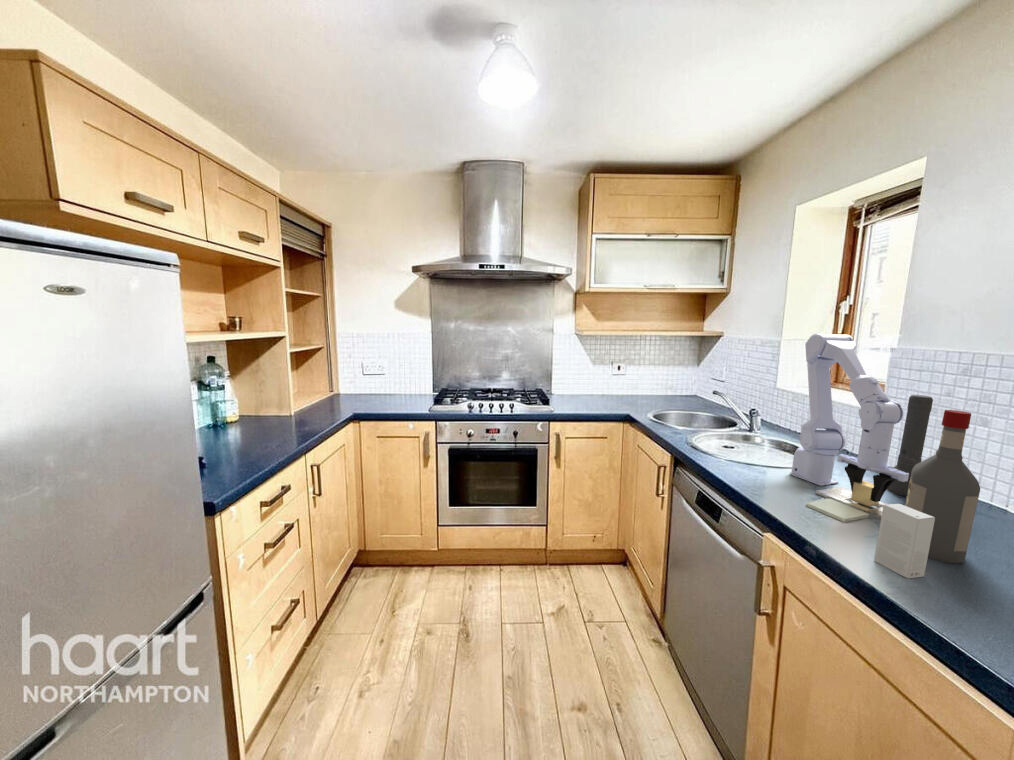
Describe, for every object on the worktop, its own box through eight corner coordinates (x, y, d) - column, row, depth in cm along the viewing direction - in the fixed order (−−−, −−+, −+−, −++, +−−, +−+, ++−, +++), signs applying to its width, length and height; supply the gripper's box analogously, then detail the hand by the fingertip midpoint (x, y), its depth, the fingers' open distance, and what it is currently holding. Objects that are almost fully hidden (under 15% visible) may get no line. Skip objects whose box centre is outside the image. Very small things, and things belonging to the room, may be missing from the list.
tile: (805, 505, 105) (806, 502, 105) (829, 501, 108) (829, 498, 108) (844, 522, 96) (844, 519, 96) (868, 517, 99) (868, 514, 99)
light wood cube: (851, 499, 107) (854, 482, 106) (860, 498, 108) (863, 480, 107) (868, 506, 103) (871, 488, 102) (878, 504, 104) (881, 486, 104)
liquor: (957, 549, 86) (987, 412, 81) (965, 568, 79) (998, 419, 74) (898, 533, 92) (923, 404, 87) (900, 550, 85) (927, 411, 80)
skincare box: (925, 577, 76) (937, 517, 74) (907, 579, 75) (919, 519, 73) (888, 558, 82) (899, 502, 80) (872, 560, 81) (882, 504, 79)
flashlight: (882, 485, 120) (892, 494, 114) (899, 392, 116) (910, 396, 109) (914, 490, 117) (925, 499, 111) (932, 395, 113) (945, 399, 106)
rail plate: (815, 493, 112) (815, 490, 112) (838, 489, 116) (839, 486, 116) (894, 525, 96) (895, 521, 96) (919, 519, 99) (920, 516, 99)
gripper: (833, 440, 109) (825, 487, 111) (900, 458, 95) (889, 511, 97) (850, 438, 111) (842, 484, 113) (917, 455, 98) (907, 508, 100)
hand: (865, 497), depth 105 cm, fingers closed on light wood cube, 4 cm apart
